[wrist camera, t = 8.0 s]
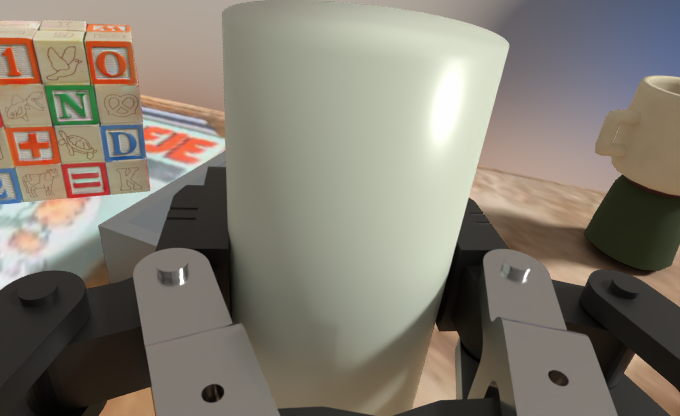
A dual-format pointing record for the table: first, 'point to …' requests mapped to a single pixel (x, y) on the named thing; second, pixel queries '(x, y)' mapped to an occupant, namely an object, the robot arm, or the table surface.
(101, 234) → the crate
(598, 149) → the character mug
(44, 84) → the stack of blocks
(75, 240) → the table surface
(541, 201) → the table surface
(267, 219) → the canister
